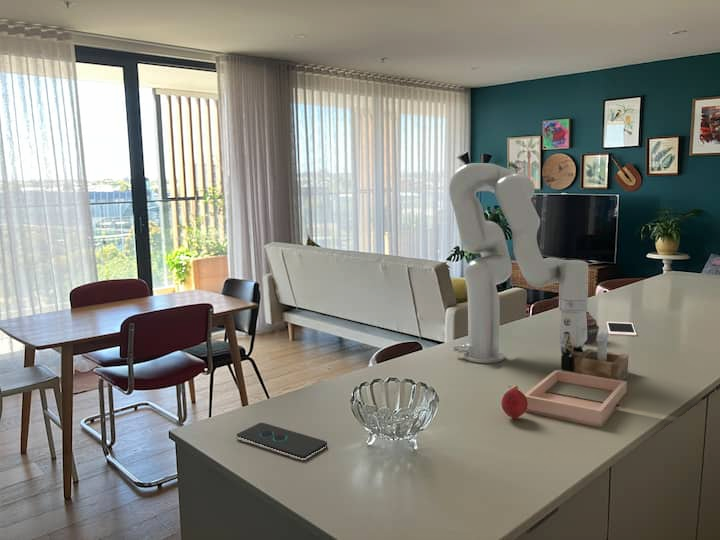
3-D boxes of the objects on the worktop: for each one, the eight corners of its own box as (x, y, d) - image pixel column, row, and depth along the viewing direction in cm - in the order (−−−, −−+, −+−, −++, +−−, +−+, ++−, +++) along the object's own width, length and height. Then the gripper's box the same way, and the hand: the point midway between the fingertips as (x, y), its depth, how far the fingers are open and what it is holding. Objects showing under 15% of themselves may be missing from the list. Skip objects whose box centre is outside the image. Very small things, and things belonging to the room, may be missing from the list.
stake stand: (630, 375, 164) (632, 332, 162) (618, 389, 153) (620, 343, 151) (568, 365, 174) (569, 324, 172) (553, 378, 163) (554, 334, 162)
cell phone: (608, 335, 206) (609, 333, 206) (606, 323, 223) (606, 321, 223) (636, 337, 203) (636, 334, 203) (632, 325, 220) (632, 322, 220)
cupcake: (590, 345, 194) (590, 315, 192) (563, 340, 201) (563, 311, 199) (604, 339, 200) (605, 311, 198) (577, 335, 207) (578, 307, 206)
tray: (600, 427, 130) (601, 411, 130) (522, 411, 141) (522, 395, 141) (626, 396, 149) (626, 381, 148) (555, 383, 159) (555, 369, 159)
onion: (513, 425, 133) (513, 391, 132) (496, 417, 138) (496, 384, 137) (532, 420, 136) (533, 387, 135) (515, 412, 141) (515, 380, 140)
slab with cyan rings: (261, 421, 137) (328, 440, 126) (261, 428, 137) (329, 448, 126) (234, 434, 131) (303, 456, 119) (235, 441, 131) (303, 464, 119)
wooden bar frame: (627, 372, 163) (628, 354, 162) (617, 383, 154) (618, 365, 153) (569, 363, 172) (569, 346, 172) (556, 373, 164) (556, 356, 163)
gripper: (577, 312, 155) (575, 376, 157) (596, 300, 168) (594, 360, 171) (548, 309, 159) (548, 372, 162) (569, 298, 173) (568, 356, 175)
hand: (572, 365), depth 166 cm, fingers open, 7 cm apart
